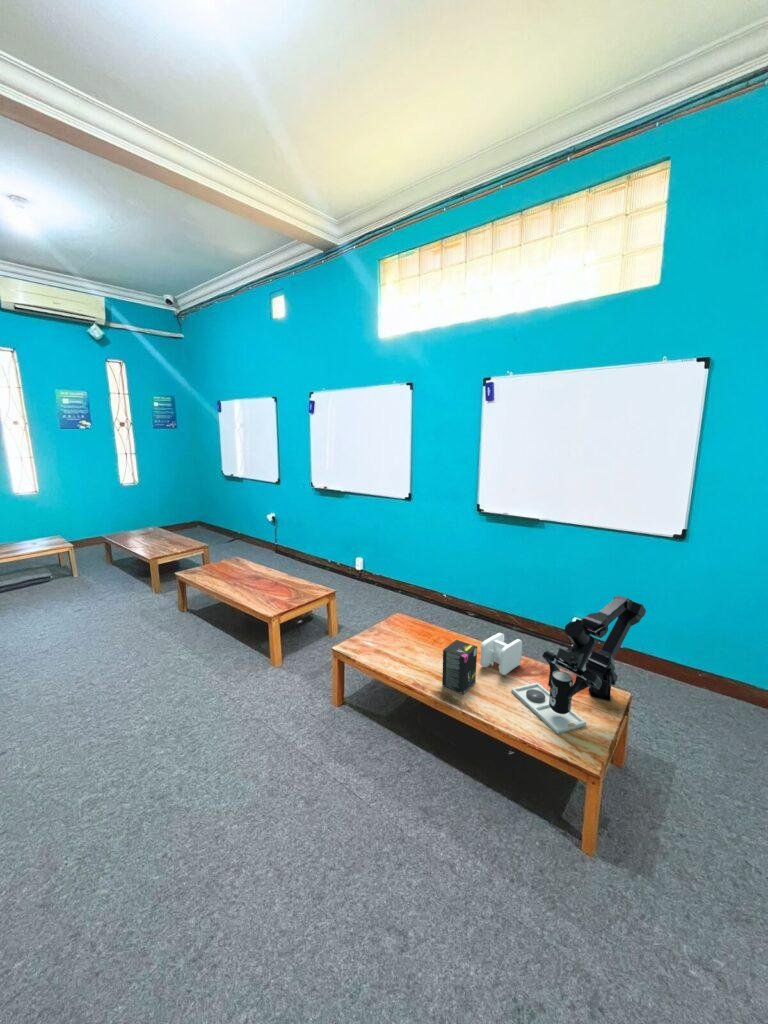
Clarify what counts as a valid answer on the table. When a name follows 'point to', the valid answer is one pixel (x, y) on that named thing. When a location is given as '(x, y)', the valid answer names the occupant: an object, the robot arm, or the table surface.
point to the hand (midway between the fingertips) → (558, 691)
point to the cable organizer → (501, 653)
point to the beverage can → (560, 692)
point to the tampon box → (459, 666)
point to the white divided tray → (547, 708)
